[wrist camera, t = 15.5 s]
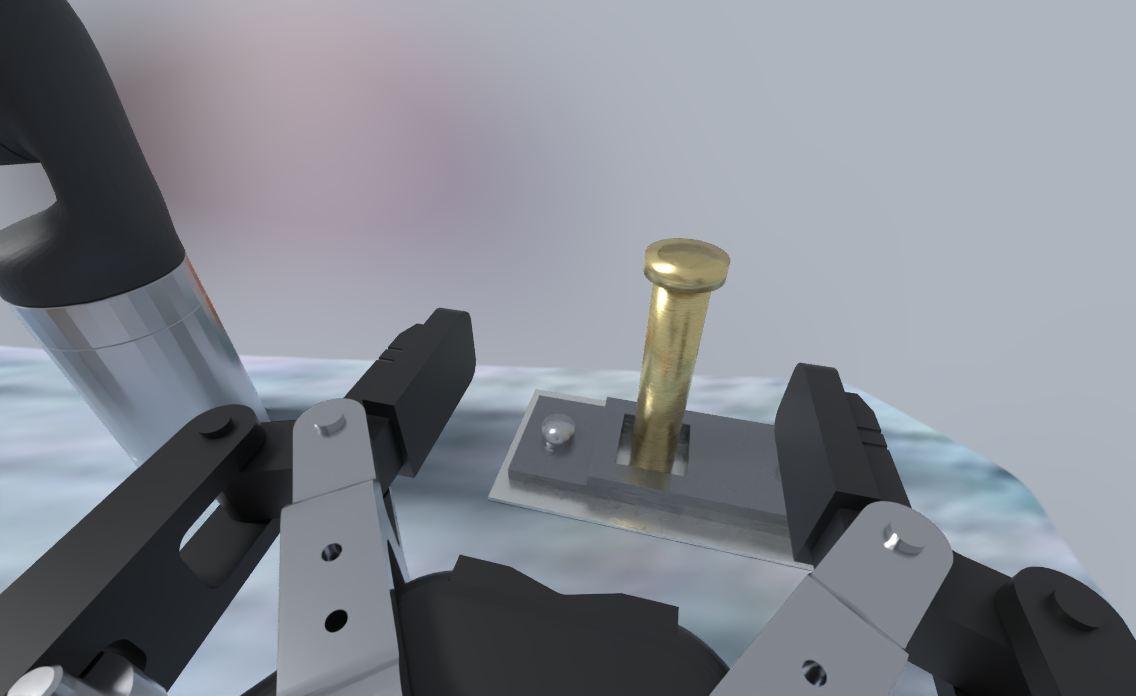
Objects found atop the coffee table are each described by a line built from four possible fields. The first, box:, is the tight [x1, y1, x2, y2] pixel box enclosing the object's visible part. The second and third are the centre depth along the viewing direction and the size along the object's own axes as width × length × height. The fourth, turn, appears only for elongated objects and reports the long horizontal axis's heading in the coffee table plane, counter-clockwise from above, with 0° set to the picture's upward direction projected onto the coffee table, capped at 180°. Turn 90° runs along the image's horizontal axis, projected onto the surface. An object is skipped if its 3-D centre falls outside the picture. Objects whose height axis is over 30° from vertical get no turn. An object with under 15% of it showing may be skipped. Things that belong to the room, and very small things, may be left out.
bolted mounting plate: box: [488, 389, 814, 571], centre depth 39 cm, size 28×13×4 cm, turn 77°
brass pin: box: [629, 238, 730, 474], centre depth 34 cm, size 5×5×19 cm
